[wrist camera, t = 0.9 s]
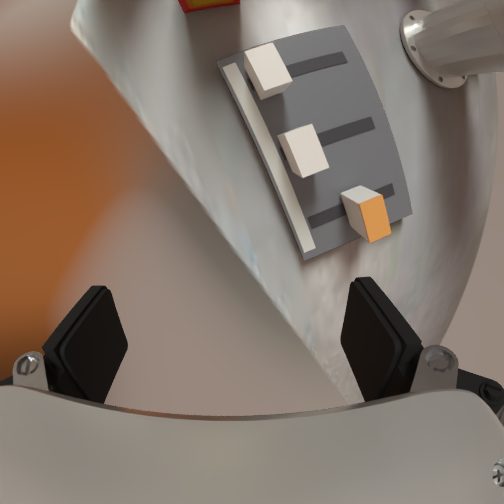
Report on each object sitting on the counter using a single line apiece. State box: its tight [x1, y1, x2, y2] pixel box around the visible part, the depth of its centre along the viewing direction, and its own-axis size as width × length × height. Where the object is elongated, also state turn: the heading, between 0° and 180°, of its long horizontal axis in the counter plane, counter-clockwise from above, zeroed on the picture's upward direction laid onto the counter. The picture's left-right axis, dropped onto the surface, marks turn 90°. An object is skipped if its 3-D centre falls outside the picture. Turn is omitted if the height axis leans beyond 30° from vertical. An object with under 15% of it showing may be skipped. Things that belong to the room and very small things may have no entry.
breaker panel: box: [216, 25, 413, 261], centre depth 27 cm, size 15×24×3 cm, turn 24°
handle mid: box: [277, 124, 329, 178], centre depth 23 cm, size 2×4×5 cm, turn 24°
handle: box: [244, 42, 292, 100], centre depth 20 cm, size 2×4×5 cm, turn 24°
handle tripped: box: [340, 185, 391, 243], centre depth 25 cm, size 2×4×5 cm, turn 24°
